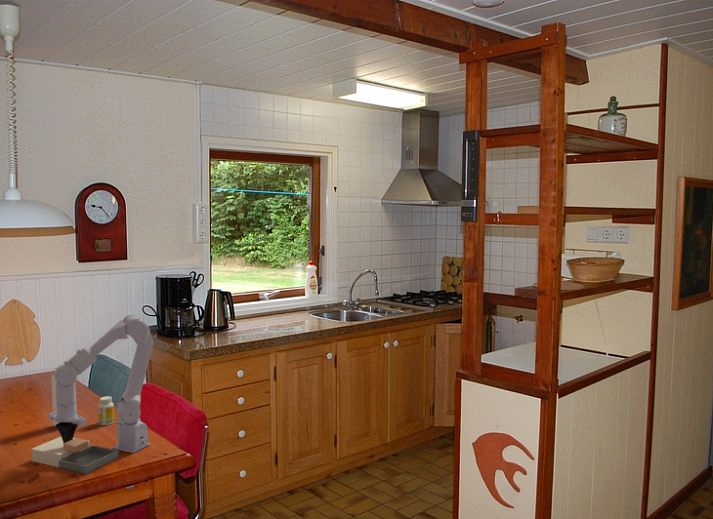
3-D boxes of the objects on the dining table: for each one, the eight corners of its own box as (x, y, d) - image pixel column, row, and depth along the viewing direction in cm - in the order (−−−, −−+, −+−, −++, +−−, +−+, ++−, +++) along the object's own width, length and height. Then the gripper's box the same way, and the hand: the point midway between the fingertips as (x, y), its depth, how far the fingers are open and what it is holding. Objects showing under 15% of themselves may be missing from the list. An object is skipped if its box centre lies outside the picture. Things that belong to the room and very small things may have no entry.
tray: (118, 457, 195) (118, 450, 194) (86, 474, 183) (85, 466, 182) (92, 452, 199) (92, 445, 199) (59, 468, 187) (58, 460, 187)
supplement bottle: (96, 425, 223) (95, 400, 222) (101, 420, 228) (100, 395, 227) (111, 425, 223) (111, 400, 223) (116, 420, 229) (115, 395, 228)
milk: (77, 425, 224) (75, 367, 222) (60, 430, 219) (58, 370, 217) (69, 421, 227) (67, 364, 225) (52, 425, 223) (50, 367, 221)
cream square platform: (90, 452, 199) (89, 441, 198) (59, 467, 188) (59, 454, 187) (63, 447, 203) (62, 435, 203) (32, 461, 192) (31, 448, 192)
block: (87, 446, 194) (87, 440, 194) (75, 452, 189) (75, 446, 189) (76, 443, 196) (76, 437, 195) (63, 449, 191) (63, 443, 191)
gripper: (39, 403, 192) (41, 445, 193) (73, 409, 186) (74, 452, 187) (57, 397, 198) (59, 437, 199) (91, 402, 193) (92, 444, 194)
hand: (68, 444), depth 194 cm, fingers closed
